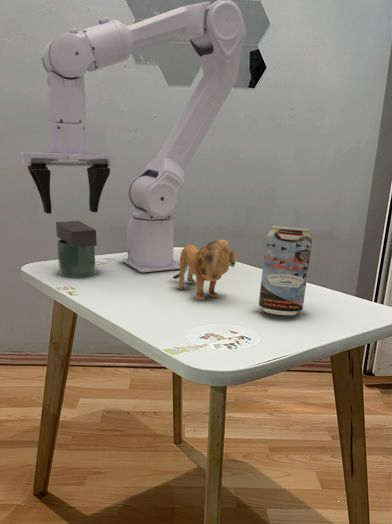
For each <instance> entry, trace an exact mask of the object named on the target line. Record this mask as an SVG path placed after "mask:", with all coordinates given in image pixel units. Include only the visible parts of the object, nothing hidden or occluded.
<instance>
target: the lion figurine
mask: <svg viewBox="0 0 392 524" xmlns="http://www.w3.org/2000/svg"><path fill="white" fill-rule="evenodd" d="M239 258H240V255H239V254H238V253H236V252H234V251H233V249H232V248H231V247H230V245H229V240H225V239H217V240H213V241H211V242H208V243H207V244H206V245H203V246H201V247H200V248H199V247H198V246H196V245H193V244H187V245H186V246H184V247H183V248H182V250H181V253H180V255H179V265H180V269H179V272H178V273H177V274H175V275H173V276H172V279H174V280H177V279H179V283H178V286H177V289H178V290H185V289H186V285H185V279H186V280H187V283H188V284H195V283H196V300H198V301H204V300H206V298H205V297H206V296H205V292H204V284H205V283H204V282H209V287H208V296H209V297H211V298H217V297H218V296H219V293H218V292H216V291H215V288H216V285H217V282H218V281H219V280H221V278H222V276H223V275H225V274H226V273H227V272H228V271H229V270H230V267H231V268H235V267H236V263H237V262H238V261H239ZM187 269H188V272H187ZM186 272H187V277H186V278H185V275H186ZM193 276H195V279H194V277H193ZM195 281H196V282H195Z"/></svg>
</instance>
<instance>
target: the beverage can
mask: <svg viewBox="0 0 392 524" xmlns="http://www.w3.org/2000/svg"><path fill="white" fill-rule="evenodd" d="M312 239H313V238H312V237H311V234H310V229H309V228H299V227H291V226H279V225H272V226H271V230H269V232H268V233H267V235H266V238H265V247H264V255H263V264H262V270H261V271H262V272H261V281H260V289H259V297H258V306H259V307H261V308H262V310H263V311H264V312H265V313H268V314H272V315H279V316H295V315H297V314H298V312H301V311H303V310H304V304H305V295H306V287H307V280H308V273H309V265H310V258H311V252H312V244H313V240H312Z"/></svg>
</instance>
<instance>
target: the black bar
mask: <svg viewBox="0 0 392 524" xmlns="http://www.w3.org/2000/svg"><path fill="white" fill-rule="evenodd" d="M55 227H56V228H55V229H56V237H57V238H58V239H59V240H63V241H64V242H66V243H67V244H68V245H70V246H71V247H86V246H95V247H96V246H97V245H98V243H97V242H98V241H97V230H96V229H95V228H93V227H92V226H89V225H87V224H85V223H84V222H81V221H79V220H67V221H56V222H55Z"/></svg>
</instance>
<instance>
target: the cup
mask: <svg viewBox="0 0 392 524" xmlns="http://www.w3.org/2000/svg"><path fill="white" fill-rule="evenodd" d="M56 243H57V244H56V245H57V257H58V270H59V274H60V276H62V277H66V278H86V277H87V278H88V277H92V276H94V275H95V274H96V273H97V272H96V270H97V265H96V264H97V263H96V246H86V247H71V246H70V245H68V244H67V243H66V242H64V241H63V240H61V239H57V242H56Z"/></svg>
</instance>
